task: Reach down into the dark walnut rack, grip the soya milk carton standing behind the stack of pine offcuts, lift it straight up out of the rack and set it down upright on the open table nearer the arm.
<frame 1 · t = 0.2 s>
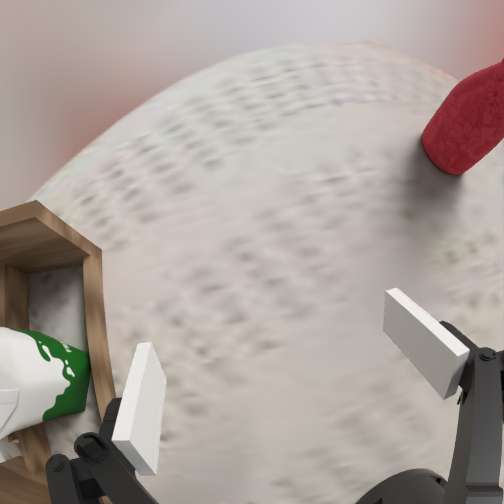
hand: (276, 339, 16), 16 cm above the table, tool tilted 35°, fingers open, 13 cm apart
soya milk: (66, 372, 29), resting in walnut rack
walnut rack: (41, 372, 28), on the table
wine bottle: (442, 152, 40), on the table
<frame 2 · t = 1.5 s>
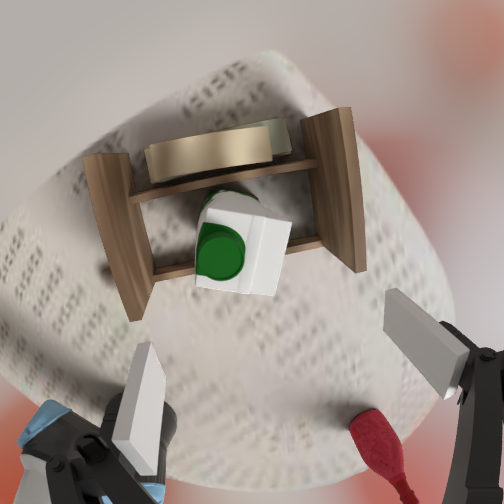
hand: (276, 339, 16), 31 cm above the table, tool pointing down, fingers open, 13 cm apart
soya milk: (229, 216, 45), resting in walnut rack
walnut rack: (224, 190, 43), on the table
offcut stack: (217, 149, 42), on the table
wine bottle: (364, 419, 65), on the table
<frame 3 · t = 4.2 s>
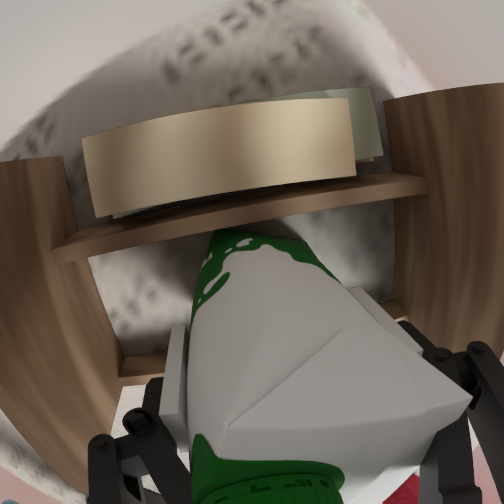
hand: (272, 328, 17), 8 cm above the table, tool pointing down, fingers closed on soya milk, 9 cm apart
soya milk: (253, 275, 24), resting in walnut rack, touching gripper
walnut rack: (245, 227, 23), on the table
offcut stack: (231, 146, 21), on the table
wine bottle: (398, 484, 45), on the table
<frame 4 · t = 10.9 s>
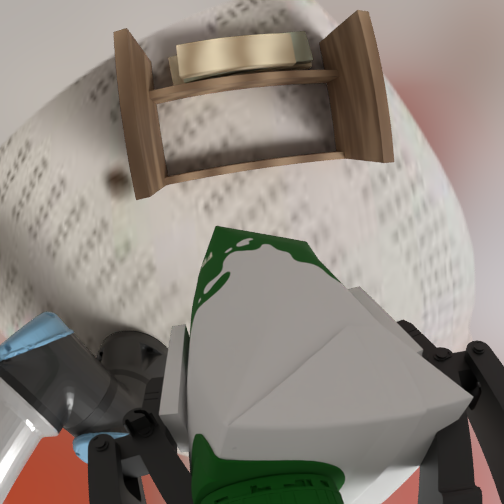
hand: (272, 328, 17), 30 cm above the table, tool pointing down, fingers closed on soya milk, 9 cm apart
soya milk: (253, 275, 24), point 22 cm above the table, touching gripper
walnut rack: (245, 98, 40), on the table
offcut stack: (239, 62, 38), on the table
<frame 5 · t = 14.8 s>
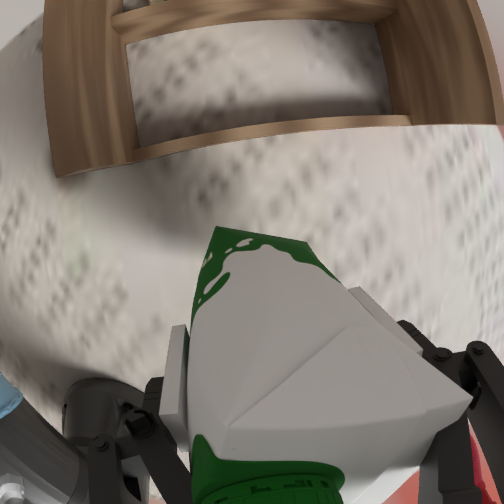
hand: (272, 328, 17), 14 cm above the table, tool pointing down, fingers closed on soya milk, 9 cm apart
soya milk: (253, 275, 24), point 6 cm above the table, touching gripper
walnut rack: (261, 33, 23), on the table
wine bottle: (423, 416, 45), on the table
when the fingers open (8 cm above the table, at t = 18.0 s): soya milk stays where it is, on the table.
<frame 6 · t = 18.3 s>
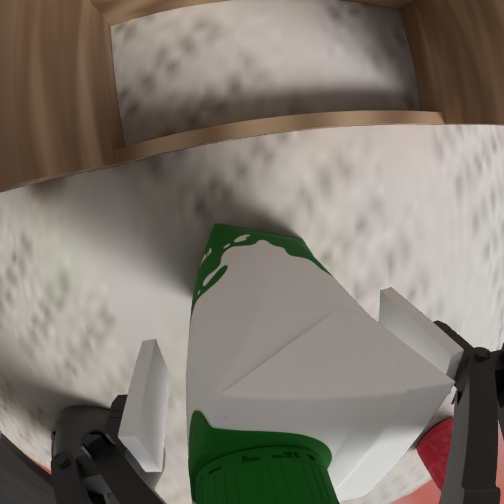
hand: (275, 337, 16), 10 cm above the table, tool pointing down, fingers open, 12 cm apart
soya milk: (251, 271, 25), on the table
walnut rack: (271, 11, 18), on the table
wine bottle: (435, 432, 40), on the table
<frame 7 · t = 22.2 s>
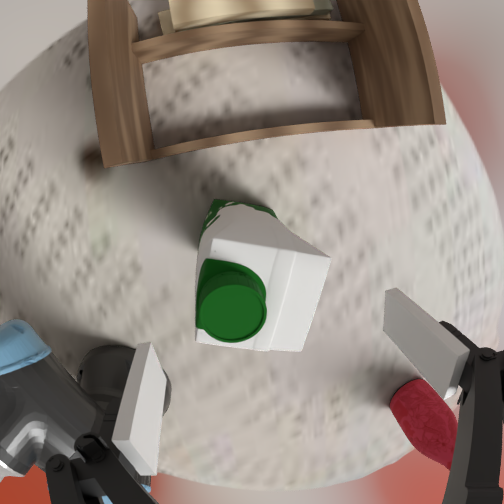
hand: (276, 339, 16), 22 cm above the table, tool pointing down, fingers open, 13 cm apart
soya milk: (238, 232, 37), on the table
walnut rack: (251, 55, 30), on the table
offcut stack: (245, 15, 28), on the table
wine bottle: (406, 393, 52), on the table
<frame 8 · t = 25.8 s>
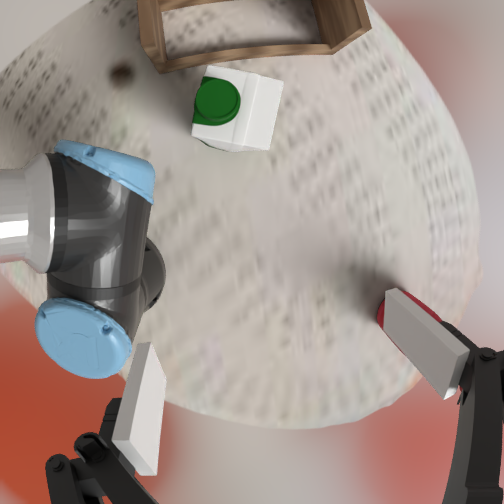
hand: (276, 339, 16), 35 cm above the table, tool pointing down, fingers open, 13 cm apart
soya milk: (228, 124, 44), on the table
walnut rack: (239, 6, 37), on the table
wine bottle: (393, 308, 59), on the table
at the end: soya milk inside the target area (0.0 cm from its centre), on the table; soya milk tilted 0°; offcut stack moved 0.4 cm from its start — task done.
